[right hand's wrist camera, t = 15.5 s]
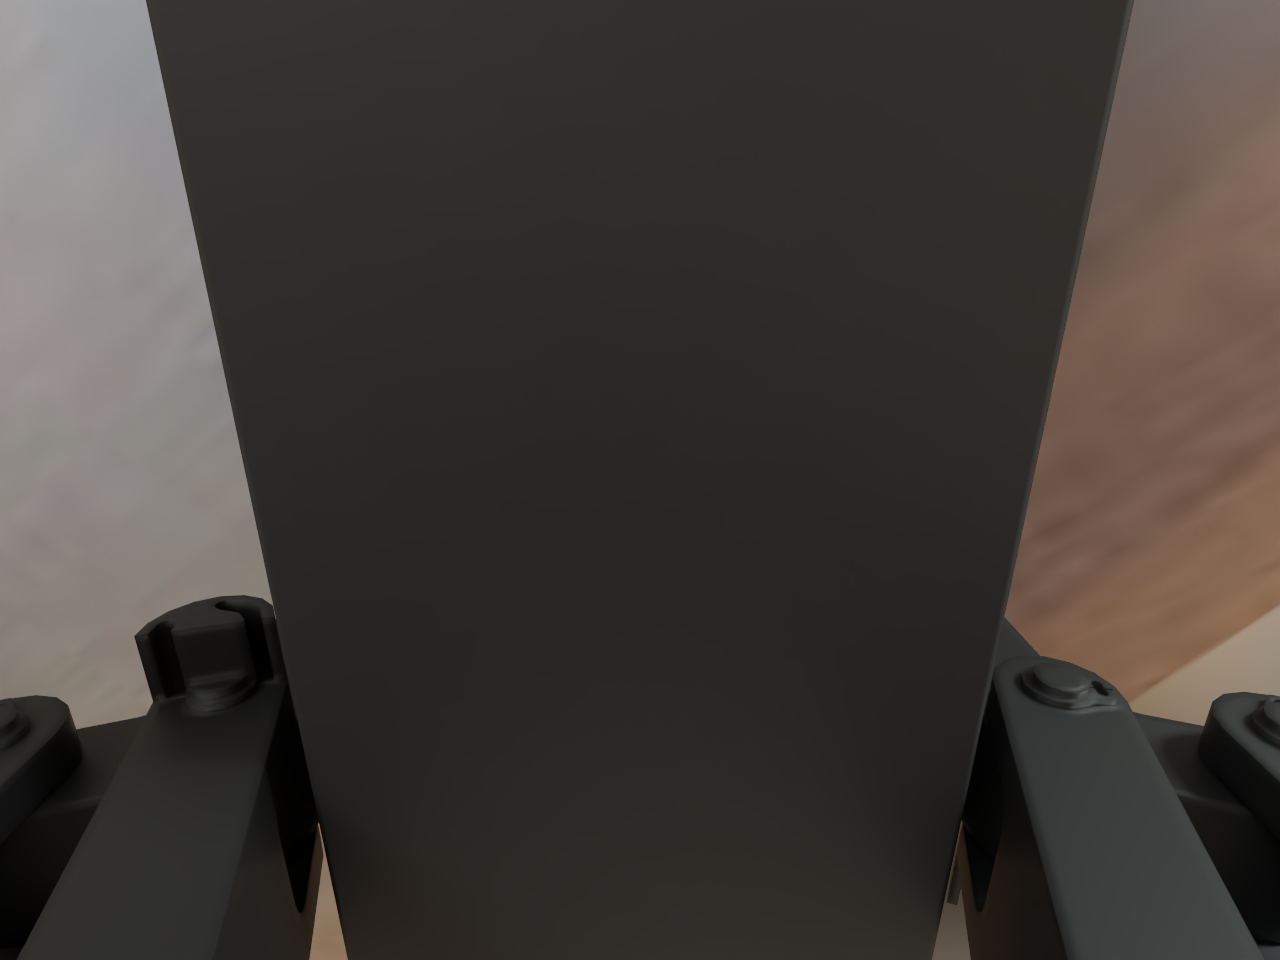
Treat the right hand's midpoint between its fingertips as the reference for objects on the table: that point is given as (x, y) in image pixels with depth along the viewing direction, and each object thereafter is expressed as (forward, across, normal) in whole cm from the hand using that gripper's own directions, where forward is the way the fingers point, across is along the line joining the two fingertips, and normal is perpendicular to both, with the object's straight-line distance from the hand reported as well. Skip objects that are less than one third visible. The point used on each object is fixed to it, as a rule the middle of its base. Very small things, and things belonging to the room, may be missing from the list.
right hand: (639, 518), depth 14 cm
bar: (+1, 0, -10) cm, 10 cm away
